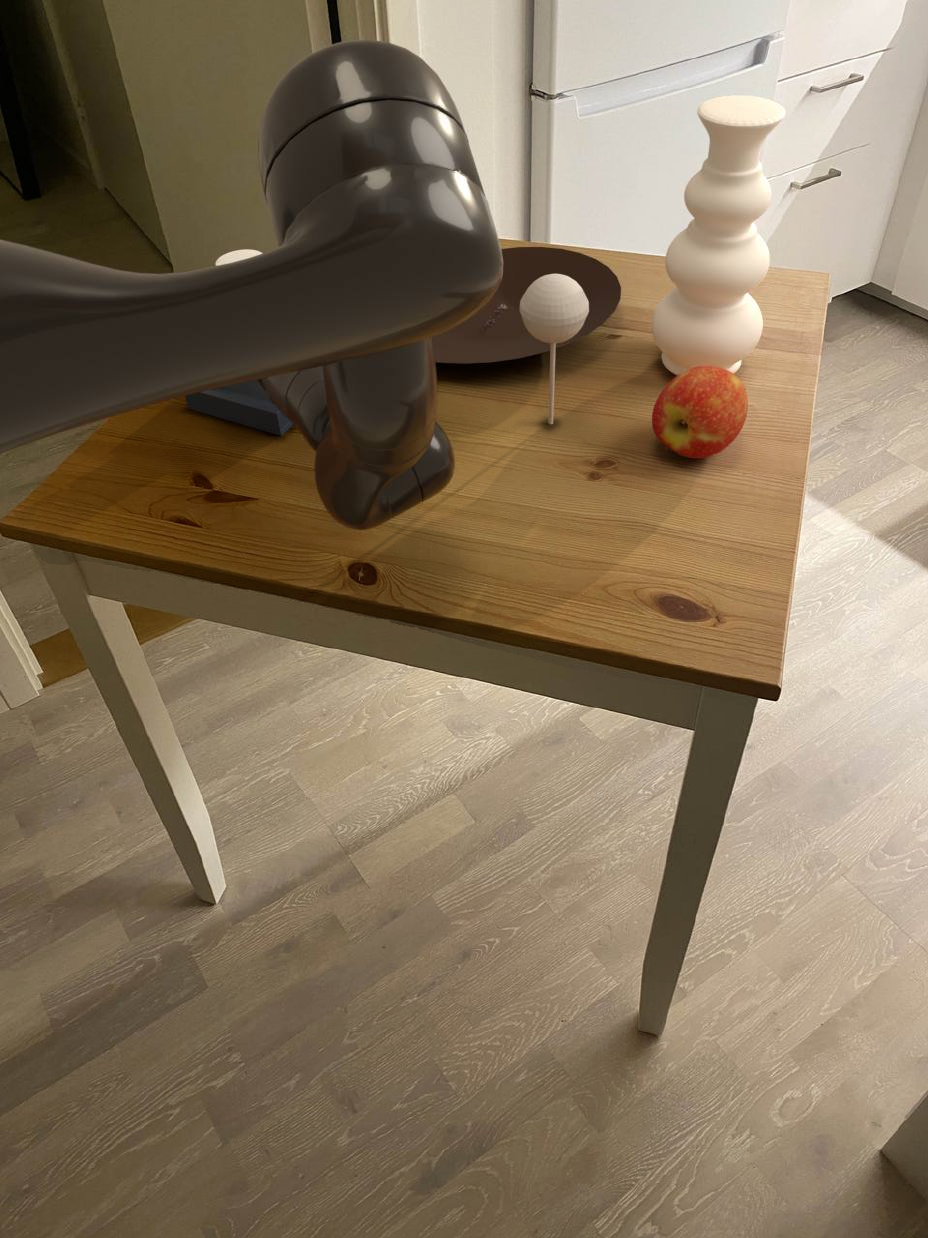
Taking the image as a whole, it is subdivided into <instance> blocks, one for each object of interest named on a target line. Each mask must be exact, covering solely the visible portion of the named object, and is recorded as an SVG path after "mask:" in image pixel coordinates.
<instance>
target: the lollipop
mask: <svg viewBox="0 0 928 1238" xmlns="http://www.w3.org/2000/svg"><path fill="white" fill-rule="evenodd" d="M588 312H589V302H588V299H587V297H586V295H585V293H584V291H583V290H582V288H581V287H580V285H579V284H578V283H577V282H576V281H575V280H573V279H572V278H570V277H568V276H566V275H561V274H549V275H545V276H542V277H540V278H539V279H537V280H536V281H534V282H533V283H532V284H531V285H530V286H529V287H528V289H527V291H526V292H525V294H524V295H523V297H522V299H521V301H520V313H521V316H522V319H523V322H524V325H525V327H526V328H527V330H528V331H529V333H530V334H531V335H533V336H534V337H535V338H537V339H538V340H540V341H542V342H546V343H551V347H550V351H549V352H550V353H549V385H548V387H549V388H548V389H549V390H548V419H547V420H548V422H547V423H548V425H553V424H554V407H555V406H554V403H555V376H556V373H555V372H556V348H555V347H556V343H561V342H564V341H566V340H568V339H570V338H572V337H573V336H574V335H576V334H577V333H578V332H579V330H580V329H581V327H582V326H583V324H584V321H585V319H586V317H587V315H588Z"/></svg>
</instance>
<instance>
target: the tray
mask: <svg viewBox="0 0 928 1238" xmlns="http://www.w3.org/2000/svg"><path fill="white" fill-rule="evenodd" d="M184 397H185V401H186V404H187V407H188V409H189V410H191V411H194V412H197V413H202V414H205V415H209V416H212V417H215V418H219V419H222V420H225V421H229V422H232V423H236V424H239V425H243V426H246V427H249V428H252V429H256V430H260V431H262V432H266V433H270V434H273V435H277V436H280V437H282V436H283V435H285V433H287V432H288V431H289V430H290V429H291V428H292V427H293V426H294V424H293V423H292V422H291V421H290V420H289V419H288V418H286V417H285V416H284V415H283V414H282V413H281V411H280V410H279V409H278V408H277V406H276V405H274V404H273V403H272V402H271V400H270V399H269V397H268V395H267V393H266V392H265V390H264V389H263V388H262V386H261V385H260V384H259V382H258V381H257V380H253V381H248V382H244V383H239V384H234V385H229V386H225V387H220V388H215V389H211V390H206V391H202V392H198V393H194V394H190V395H186V396H184Z"/></svg>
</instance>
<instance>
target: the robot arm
mask: <svg viewBox="0 0 928 1238" xmlns="http://www.w3.org/2000/svg"><path fill="white" fill-rule="evenodd" d="M257 142H258V143H257V151H258V167H259V173H260V180H261V185H262V189H263V193H264V194H263V195H264V197H265V200H266V204H267V208H268V212H269V215H270V219H271V222H272V226H273V231H274V234H275V238H276V241H277V245H278V246H277V247H276V248H274V249H272V250H268V251H266V252H262V253H263V254H260V255H257V256H254V257H251V258H247V259H244V260H240V261H236V262H232V263H228V264H223V265H217V266H216V265H213V266H212V265H211V266H207V267H202V268H201V267H200V268H197V269H191V270H186V271H181V272H180V271H179V272H168V273H165V272H164V273H152V272H139V271H138V272H137V271H129V270H122V269H119V268H113V267H109V266H105V265H101V264H96V263H93V262H90V261H86V260H82V259H78V258H75V257H71V256H68V255H64V254H61V253H58V252H54V251H51V250H46V249H42V248H38V247H35V246H31V245H28V244H23V243H19V242H13V241H10V240H6V239H5V240H4V239H0V454H2V453H7V452H8V451H12V450H14V449H18V448H20V447H23V446H26V445H28V444H31V443H34V442H37V441H40V440H42V439H46V438H48V437H52V436H54V435H58V434H60V433H63V432H67V431H69V430H73V429H76V428H80V427H82V426H85V425H89V424H92V423H96V422H99V421H102V420H105V419H109V418H112V417H116V416H119V415H122V414H125V413H128V412H131V411H132V412H133V411H135V410H139V409H142V408H145V407H149V406H153V405H156V404H157V405H158V404H161V403H164V402H167V401H171V400H174V399H178V398H181V397H185V396H186V395H190V394H194V393H198V392H202V391H206V390H211V389H215V388H220V387H225V386H229V385H234V384H239V383H244V382H248V381H253V380H257V381H258V382H259V384H260V385H261V386H262V388H263V389H264V390H265V392H266V393H267V395H268V397H269V399H270V400H271V402H272V403H273V404H274V405H276V406H277V408H278V409H279V410H280V411H281V413H282V414H283V415H284V416H285V417H286V418H288V419H289V420H290V421H291V422H292V423H293V424H294V425H293V426H294V427H295V428H296V430H297V431H298V432H299V434H300V435H301V436H302V437H303V439H304V441H305V442H306V444H308V446H309V447H310V448H311V449H312V450H313V451H314V452H315V456H314V469H313V473H314V481H315V485H316V490H317V494H318V497H319V499H320V502H321V503H322V505H323V507H324V508H325V510H326V512H327V513H328V514H329V515H330V516H331V517H332V519H334V520H335V521H336V522H337V523H339V524H340V525H342V526H343V527H346V528H347V529H351V530H354V531H367V530H372V529H374V528H377V527H379V526H382V525H383V524H385V523H387V522H389V521H390V520H392V519H394V518H396V517H398V516H400V515H402V514H403V513H405V512H407V511H409V510H410V509H412V508H414V507H416V506H418V505H420V504H421V503H424V502H426V501H428V500H429V499H432V498H433V497H435V496H437V495H438V494H440V493H441V492H442V491H443V490H445V489H446V488H447V487H448V485H449V484H451V481H452V479H453V476H454V472H455V468H456V458H455V452H454V448H453V445H452V443H451V442H452V441H450V438H449V437H448V435H447V433H446V432H445V430H444V429H443V428H442V426H440V424H439V423H438V422H437V420H436V418H437V417H436V416H437V406H438V374H437V366H436V362H435V357H434V350H433V343H432V337H434V336H436V335H439V334H441V333H443V332H446V331H448V330H450V329H452V328H454V327H456V326H457V325H459V324H460V323H462V322H464V321H465V320H467V319H469V318H470V317H472V316H473V315H475V314H476V313H477V312H478V311H479V310H480V309H482V308H483V307H484V306H485V305H486V304H487V303H488V302H489V301H490V300H491V298H492V297H493V295H494V294H495V292H496V290H497V288H498V287H499V285H500V282H501V279H502V276H503V256H502V250H501V249H502V245H501V242H500V239H499V235H498V231H497V230H496V226H495V222H494V219H493V215H492V212H491V207H490V204H489V201H488V199H487V197H486V194H485V190H484V187H483V184H482V180H481V178H480V175H479V171H478V169H477V165H476V161H475V158H474V155H473V153H472V149H471V146H470V141H469V138H468V134H467V133H466V130H465V126H464V123H463V121H462V118H461V115H460V112H459V110H458V108H457V106H456V103H455V101H454V99H453V97H452V95H451V93H450V92H449V91H448V89H447V88H446V86H445V84H444V83H443V81H442V79H441V78H440V76H439V75H438V73H437V72H436V71H435V70H434V68H432V67H431V66H430V65H429V64H428V63H427V62H426V61H425V60H424V59H423V58H422V57H420V56H419V55H417V54H416V53H414V52H412V51H411V50H409V49H408V48H406V47H403V46H400V45H397V44H395V43H391V42H388V41H385V40H383V41H382V40H374V39H356V40H345V41H340V42H336V43H333V44H329V45H326V46H325V47H322V48H320V49H318V50H316V51H314V52H311V53H310V54H307V55H306V56H305V57H304V58H302V59H301V60H299V61H298V62H297V63H295V64H293V66H291V68H289V70H288V71H287V72H285V74H284V75H283V76H282V77H281V78H280V79H279V81H278V82H277V84H276V85H275V87H274V89H273V91H272V92H271V93H270V95H269V97H268V99H267V101H266V103H265V107H264V110H263V113H262V116H261V119H260V124H259V134H258V141H257Z"/></svg>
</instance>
